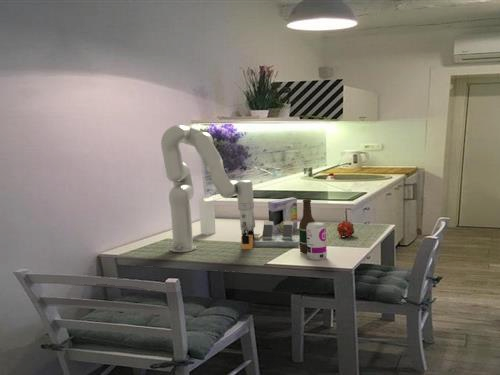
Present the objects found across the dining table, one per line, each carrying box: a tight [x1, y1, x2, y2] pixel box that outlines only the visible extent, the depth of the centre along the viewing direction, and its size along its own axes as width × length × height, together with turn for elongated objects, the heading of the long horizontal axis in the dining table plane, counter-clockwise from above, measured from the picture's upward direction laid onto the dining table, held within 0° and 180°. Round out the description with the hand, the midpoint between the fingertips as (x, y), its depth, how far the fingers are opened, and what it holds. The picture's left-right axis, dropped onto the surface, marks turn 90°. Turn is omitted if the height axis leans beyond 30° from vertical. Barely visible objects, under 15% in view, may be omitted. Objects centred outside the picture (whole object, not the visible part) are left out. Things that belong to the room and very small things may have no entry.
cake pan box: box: [267, 197, 299, 235], centre depth 259 cm, size 19×5×18 cm, turn 129°
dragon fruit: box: [336, 220, 355, 237], centre depth 239 cm, size 8×8×12 cm
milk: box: [198, 193, 216, 236], centre depth 261 cm, size 6×6×22 cm
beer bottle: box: [298, 198, 316, 255], centre depth 211 cm, size 8×8×24 cm
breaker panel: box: [240, 233, 300, 248], centre depth 231 cm, size 14×28×4 cm, turn 76°
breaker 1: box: [262, 220, 274, 239], centre depth 232 cm, size 2×5×9 cm
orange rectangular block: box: [240, 235, 253, 250], centre depth 224 cm, size 4×4×6 cm
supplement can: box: [306, 221, 328, 261], centre depth 200 cm, size 8×8×15 cm
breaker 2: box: [282, 221, 294, 239], centre depth 229 cm, size 2×5×9 cm
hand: (248, 241), depth 224 cm, fingers open, 9 cm apart
